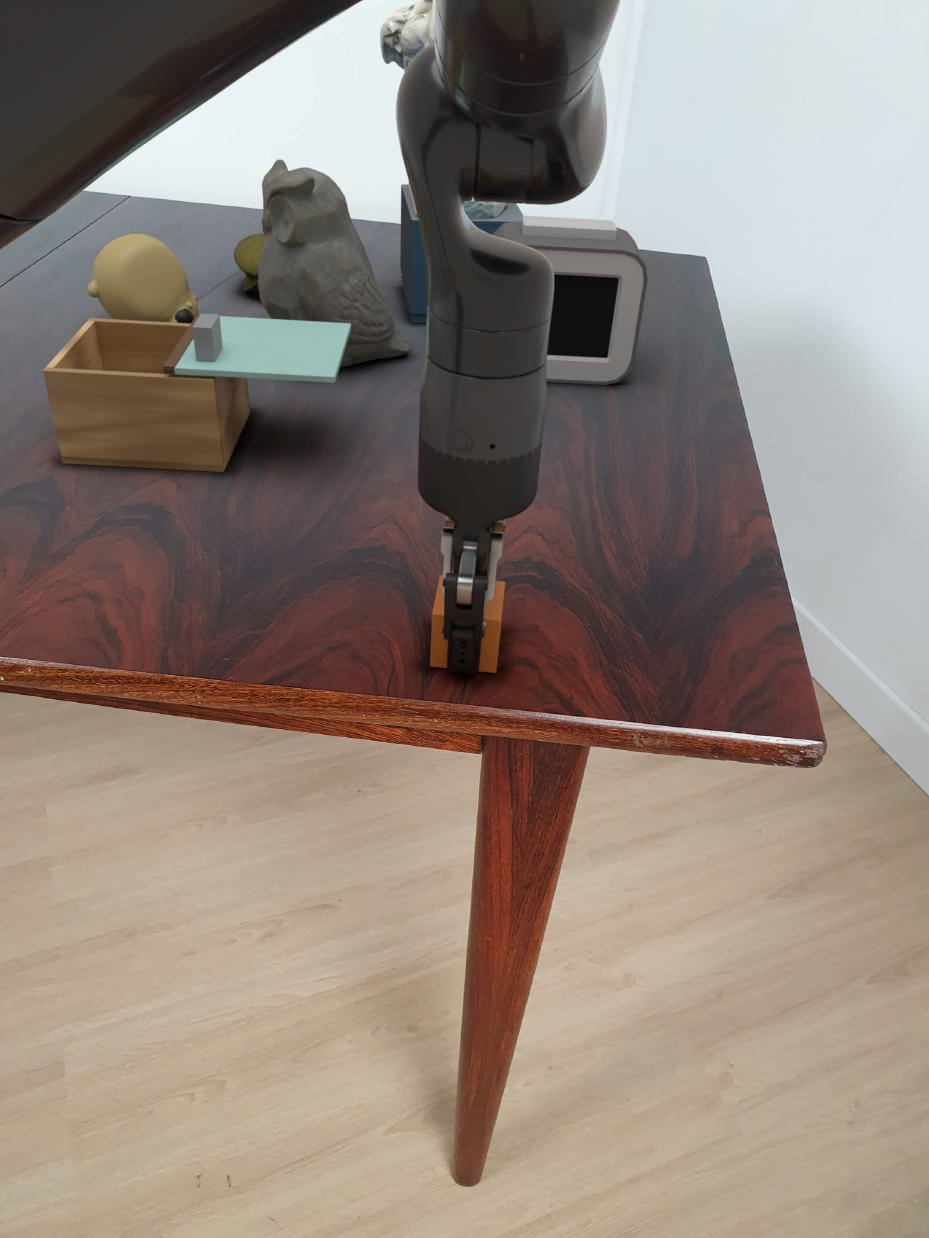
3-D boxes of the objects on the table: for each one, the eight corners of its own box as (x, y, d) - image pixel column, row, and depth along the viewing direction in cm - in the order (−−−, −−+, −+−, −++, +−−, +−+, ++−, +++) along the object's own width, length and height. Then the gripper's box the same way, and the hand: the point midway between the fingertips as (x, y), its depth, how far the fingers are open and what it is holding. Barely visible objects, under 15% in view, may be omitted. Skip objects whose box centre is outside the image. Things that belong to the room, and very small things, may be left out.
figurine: (254, 337, 113) (239, 150, 101) (389, 327, 118) (389, 147, 106) (276, 387, 103) (262, 184, 91) (423, 373, 107) (428, 179, 95)
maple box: (223, 472, 88) (213, 380, 83) (62, 463, 88) (42, 370, 82) (250, 412, 98) (242, 326, 92) (105, 404, 97) (89, 317, 92)
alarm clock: (482, 378, 107) (492, 231, 98) (481, 339, 116) (490, 202, 107) (630, 386, 108) (654, 240, 98) (618, 347, 117) (638, 210, 107)
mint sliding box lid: (335, 383, 83) (333, 342, 80) (163, 373, 82) (157, 332, 80) (351, 329, 92) (350, 291, 90) (198, 320, 92) (194, 282, 90)
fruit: (207, 283, 127) (201, 230, 123) (284, 266, 134) (281, 216, 130) (255, 308, 121) (251, 254, 117) (334, 290, 127) (333, 238, 123)
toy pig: (151, 375, 112) (215, 315, 109) (62, 297, 105) (128, 231, 102) (161, 339, 120) (222, 282, 116) (79, 265, 113) (141, 202, 109)
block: (430, 666, 68) (432, 613, 65) (437, 626, 71) (440, 574, 69) (496, 673, 68) (501, 620, 65) (500, 632, 71) (505, 581, 68)
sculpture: (385, 324, 119) (385, -19, 97) (377, 280, 131) (376, -32, 110) (522, 324, 121) (552, -11, 100) (502, 281, 134) (524, -25, 112)
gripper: (539, 490, 53) (513, 720, 64) (546, 383, 65) (523, 593, 75) (402, 477, 54) (399, 708, 64) (433, 373, 65) (426, 583, 75)
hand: (466, 645), depth 69 cm, fingers closed on block, 4 cm apart
